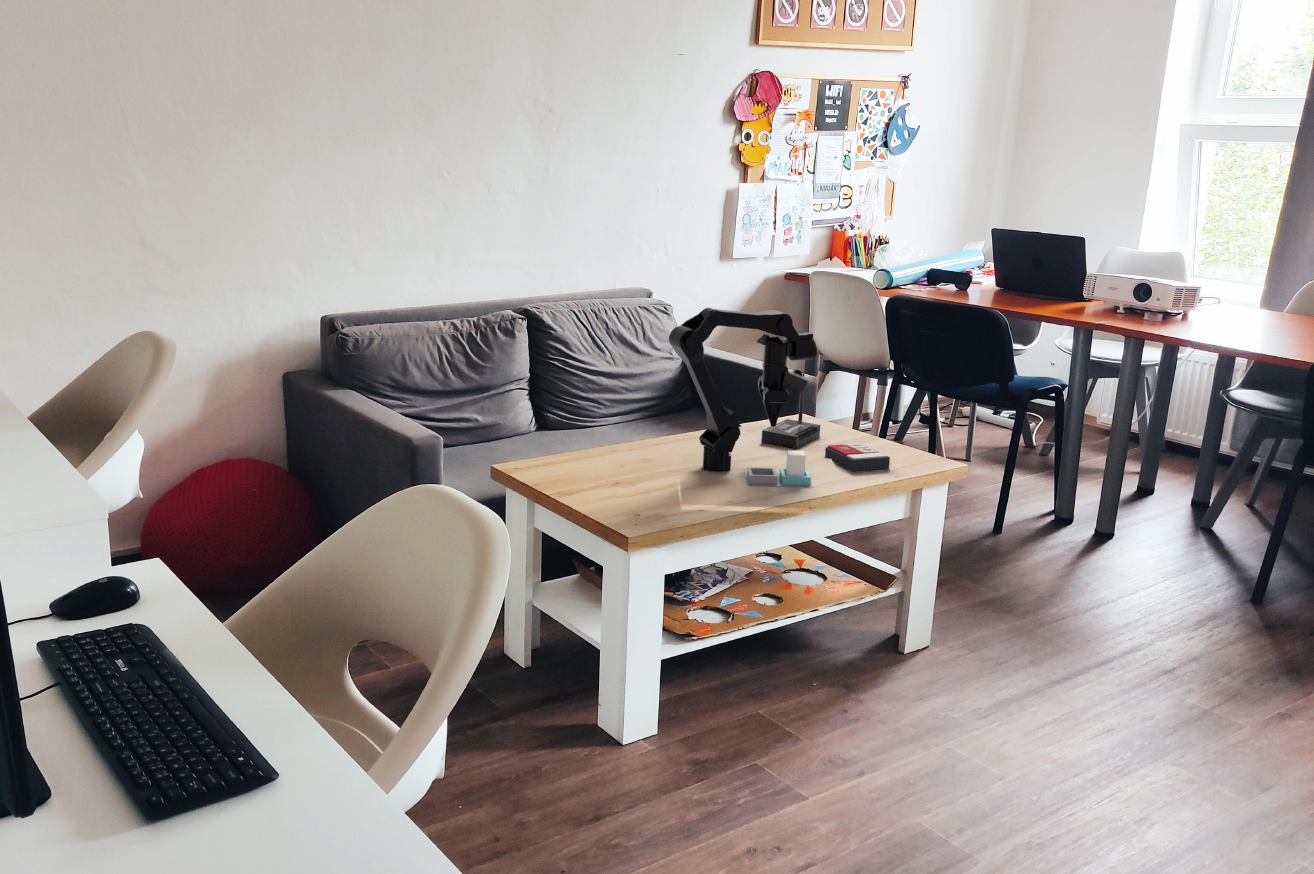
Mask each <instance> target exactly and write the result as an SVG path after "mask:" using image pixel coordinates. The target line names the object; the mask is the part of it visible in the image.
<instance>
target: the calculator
mask: <svg viewBox="0 0 1314 874" xmlns="http://www.w3.org/2000/svg"><path fill="white" fill-rule="evenodd" d="M824 449H825V451H824V452H825V453H824V458H827V459H829V460H831V461H832V462H833V463H835V464H837V465H839V466H841V467H843V468H844V470H845V469H846V470H847V471H849V472H850V473H851V474H852V473H866V472H877V471H878V472H879V471H880V472H881V471H889V470H890V464H891V463H890V461H891V459H890V456H889V455H887V454H885V453H883V452H880V451H879V450H877V449H875V448H873V447H871V446H868V445H866V444H864V443H859V442H858V443H857V442H856V443H855V442H854V443H845V444H842V443H841V444H828V445H827V446H826V447H825V448H824Z"/></svg>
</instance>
